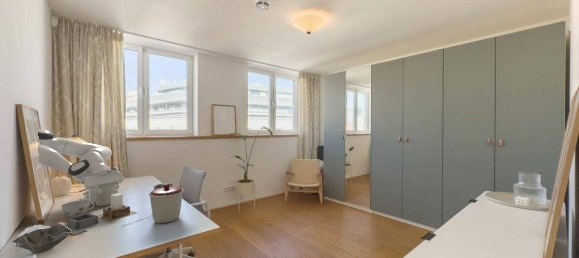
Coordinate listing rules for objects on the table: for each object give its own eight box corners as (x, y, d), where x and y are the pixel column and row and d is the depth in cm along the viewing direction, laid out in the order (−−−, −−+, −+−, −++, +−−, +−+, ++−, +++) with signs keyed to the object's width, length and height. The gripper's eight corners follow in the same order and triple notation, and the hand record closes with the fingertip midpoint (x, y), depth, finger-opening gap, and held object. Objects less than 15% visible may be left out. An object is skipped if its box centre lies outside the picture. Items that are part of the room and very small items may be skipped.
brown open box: (94, 217, 142) (94, 209, 142) (121, 209, 155) (121, 202, 155) (111, 223, 134) (111, 214, 134) (138, 214, 147) (138, 206, 147)
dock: (56, 228, 126) (56, 219, 126) (90, 218, 140) (90, 210, 140) (73, 235, 119) (73, 225, 119) (107, 224, 132) (107, 215, 132)
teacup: (62, 222, 135) (62, 208, 135) (60, 216, 143) (60, 203, 143) (96, 214, 146) (96, 201, 146) (92, 210, 154) (92, 197, 154)
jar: (98, 201, 172) (98, 177, 171) (120, 199, 177) (120, 175, 177) (92, 207, 160) (92, 181, 160) (116, 204, 165) (116, 179, 165)
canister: (144, 228, 127) (143, 188, 127) (153, 215, 145) (153, 181, 144) (181, 224, 132) (180, 186, 132) (186, 212, 149) (185, 179, 149)
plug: (110, 214, 144) (110, 194, 144) (118, 212, 147) (117, 193, 147) (115, 216, 142) (115, 195, 141) (122, 213, 145) (122, 194, 145)
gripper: (82, 172, 141) (91, 191, 136) (120, 167, 159) (128, 183, 155) (78, 179, 143) (87, 197, 138) (116, 173, 161) (124, 189, 157)
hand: (109, 190), depth 147 cm, fingers open, 8 cm apart
